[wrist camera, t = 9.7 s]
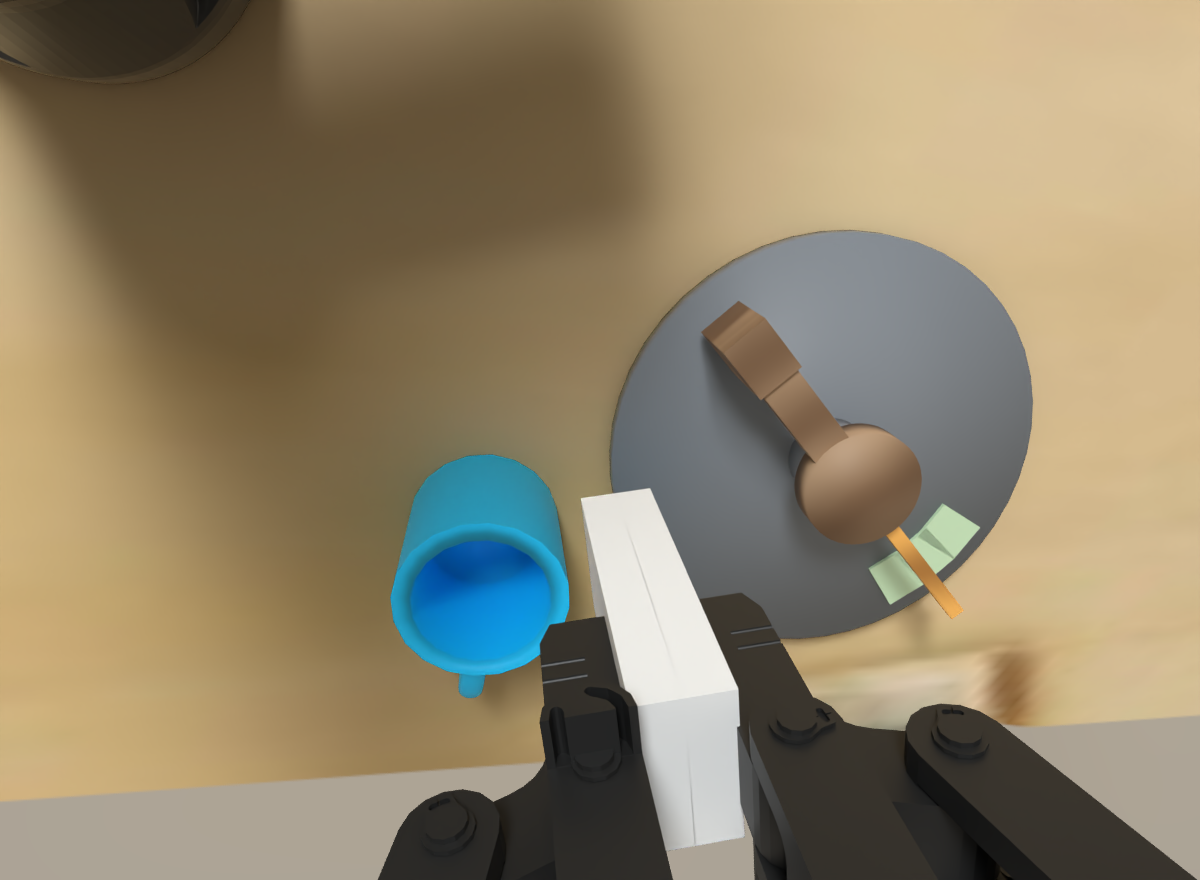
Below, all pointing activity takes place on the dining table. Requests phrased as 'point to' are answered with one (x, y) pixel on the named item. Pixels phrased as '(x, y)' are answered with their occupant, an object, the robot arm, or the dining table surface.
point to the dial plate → (858, 371)
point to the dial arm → (830, 448)
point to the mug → (480, 569)
